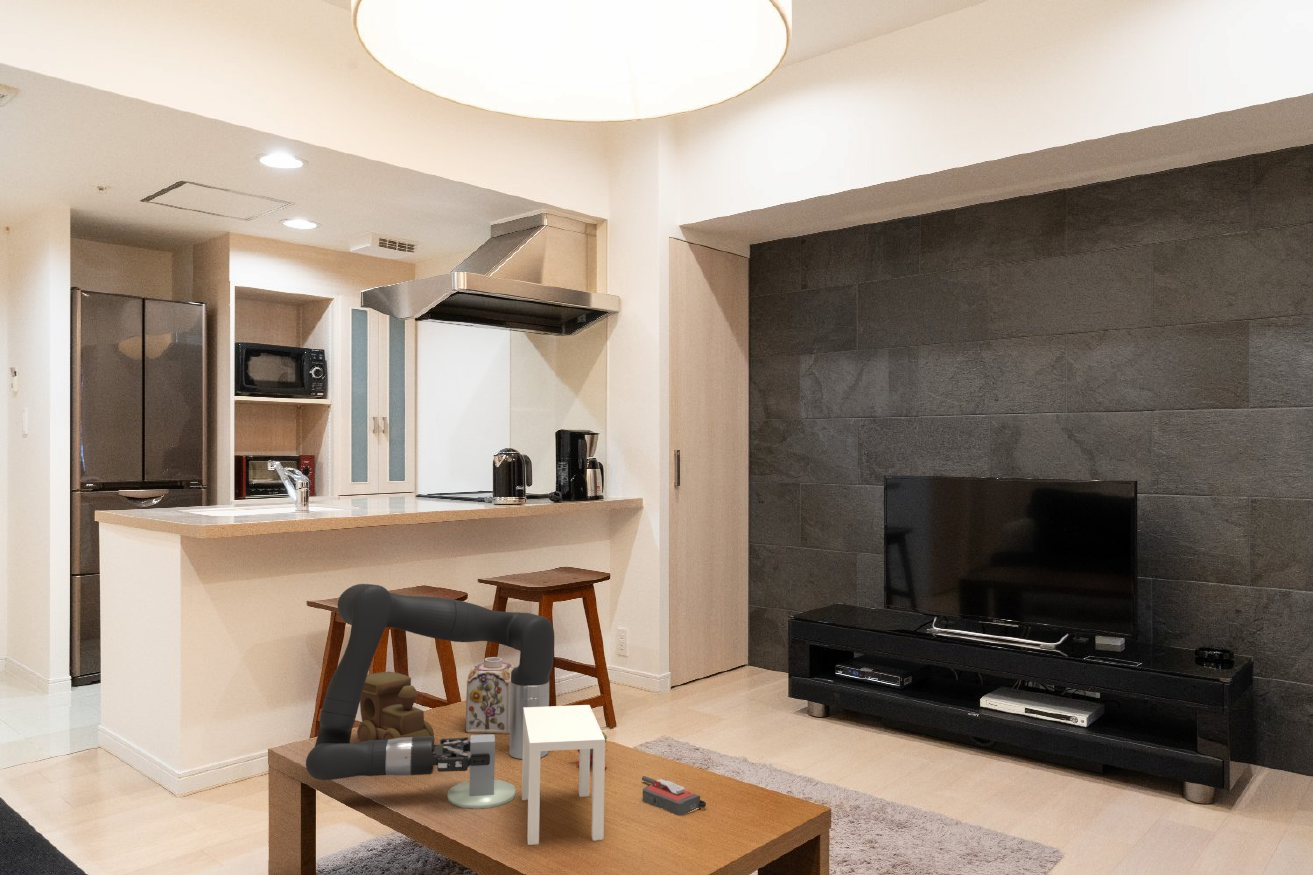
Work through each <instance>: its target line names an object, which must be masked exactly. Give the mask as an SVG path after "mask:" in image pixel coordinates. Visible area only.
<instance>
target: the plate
mask: <svg viewBox="0 0 1313 875" xmlns="http://www.w3.org/2000/svg"><path fill="white" fill-rule="evenodd" d="M469 790H470V780H467V781H463V782H459V783H458V784H455V785H453V786H452V787H450V788H449V790H448V791H447V801H448V803H450V802H451V803H452V804H451V803H450V804H451V805H453V806H456V807H458V808H463V809H469V808H473V809H474V810H481V809H482V808H484V809H491V808H496V807H500V806H503V805H507V803H510V802H511V801H513V800H514V799H515V797H516V787H515V785H513V784H511V783H510V782H508V781H505V780H501V779H494V795H483V796H469ZM473 809H472V810H473Z"/></svg>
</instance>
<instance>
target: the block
mask: <svg viewBox="0 0 1313 875" xmlns="http://www.w3.org/2000/svg"><path fill="white" fill-rule="evenodd" d="M469 740H470V753H469V754H471V756H472V754H484V753H488V754H490V764H489V765H482V766H471V767H470V768H469V781H470V790H469V796H483V795H494V780H495V769H496V768H495V764H496V762H495V758H496V738H495V734H490V733H489V734H473V735H471V734H470V739H469Z"/></svg>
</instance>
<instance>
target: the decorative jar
mask: <svg viewBox="0 0 1313 875" xmlns="http://www.w3.org/2000/svg"><path fill="white" fill-rule="evenodd" d="M483 660H484V662H482V663H478V664H474V665H473V666H471V668H470V670H469V674H468V676H467V680H466V696H465V697H466V698H465V699H466V702H465V706H466V707H465V732H466V733H467V734H490V733H500V734H501V733H502V734H503V735H508V734H509V735H510V698H511V671H512V670H513V669H514V668H516V667H517V666H515V665H514V664H511V663H509V662H503V658H501V657H498V656H492V657H485V658H484V659H483ZM500 734H499V735H500ZM502 734H501V735H502Z"/></svg>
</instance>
